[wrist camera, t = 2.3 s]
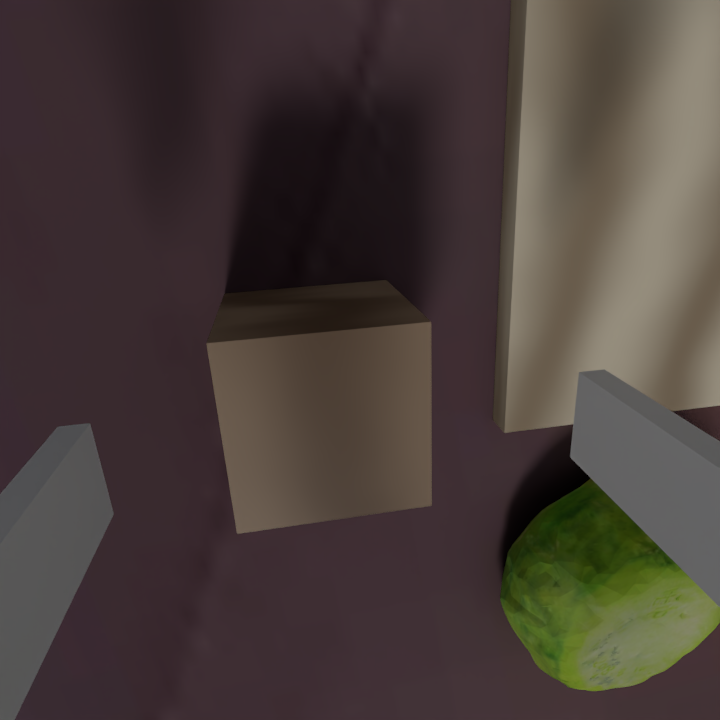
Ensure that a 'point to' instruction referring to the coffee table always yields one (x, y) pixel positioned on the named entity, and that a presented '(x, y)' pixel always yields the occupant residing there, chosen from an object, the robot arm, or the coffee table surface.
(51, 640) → the robot arm
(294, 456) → the walnut cube
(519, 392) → the oak board
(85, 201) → the coffee table surface
